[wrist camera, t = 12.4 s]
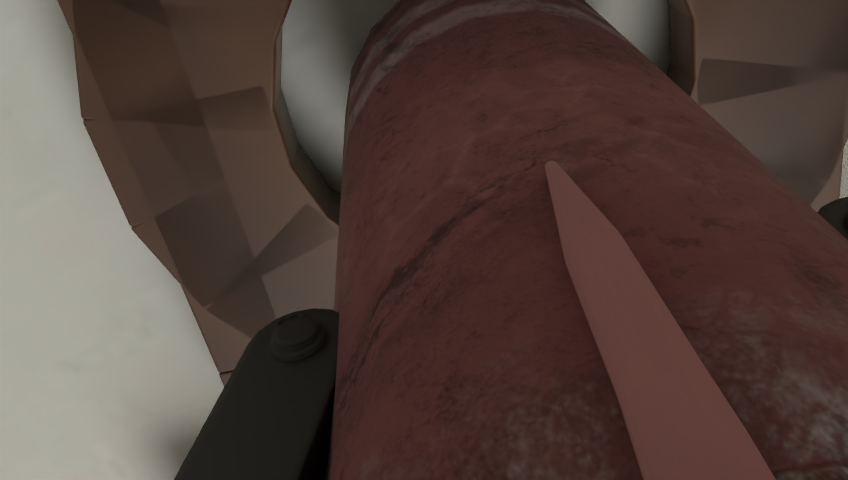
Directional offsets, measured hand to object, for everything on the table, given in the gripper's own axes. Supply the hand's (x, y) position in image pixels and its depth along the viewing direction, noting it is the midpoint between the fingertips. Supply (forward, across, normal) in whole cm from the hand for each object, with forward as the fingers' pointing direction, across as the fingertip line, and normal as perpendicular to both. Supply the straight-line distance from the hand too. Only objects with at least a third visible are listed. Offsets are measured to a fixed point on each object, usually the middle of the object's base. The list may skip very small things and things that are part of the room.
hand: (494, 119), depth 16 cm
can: (+2, 0, 0) cm, 2 cm away
